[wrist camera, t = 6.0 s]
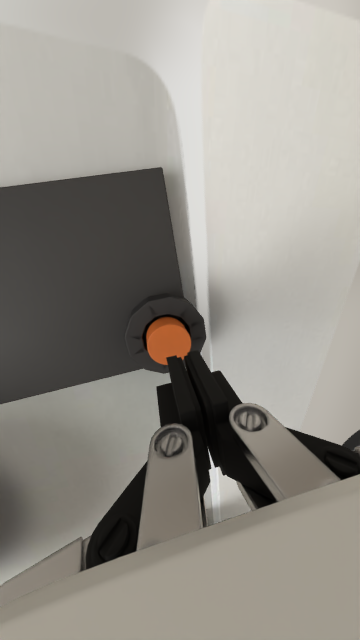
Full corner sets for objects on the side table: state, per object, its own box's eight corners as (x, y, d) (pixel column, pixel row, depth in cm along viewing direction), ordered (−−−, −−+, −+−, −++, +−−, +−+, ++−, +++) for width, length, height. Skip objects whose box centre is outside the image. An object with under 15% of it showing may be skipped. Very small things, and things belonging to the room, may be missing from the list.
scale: (173, 172, 14) (181, 153, 12) (199, 346, 19) (209, 362, 16) (-99, 208, 12) (-169, 195, 10) (5, 394, 17) (-21, 422, 14)
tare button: (182, 312, 15) (187, 320, 13) (188, 348, 16) (194, 359, 14) (142, 321, 15) (142, 330, 13) (151, 357, 16) (152, 369, 14)
